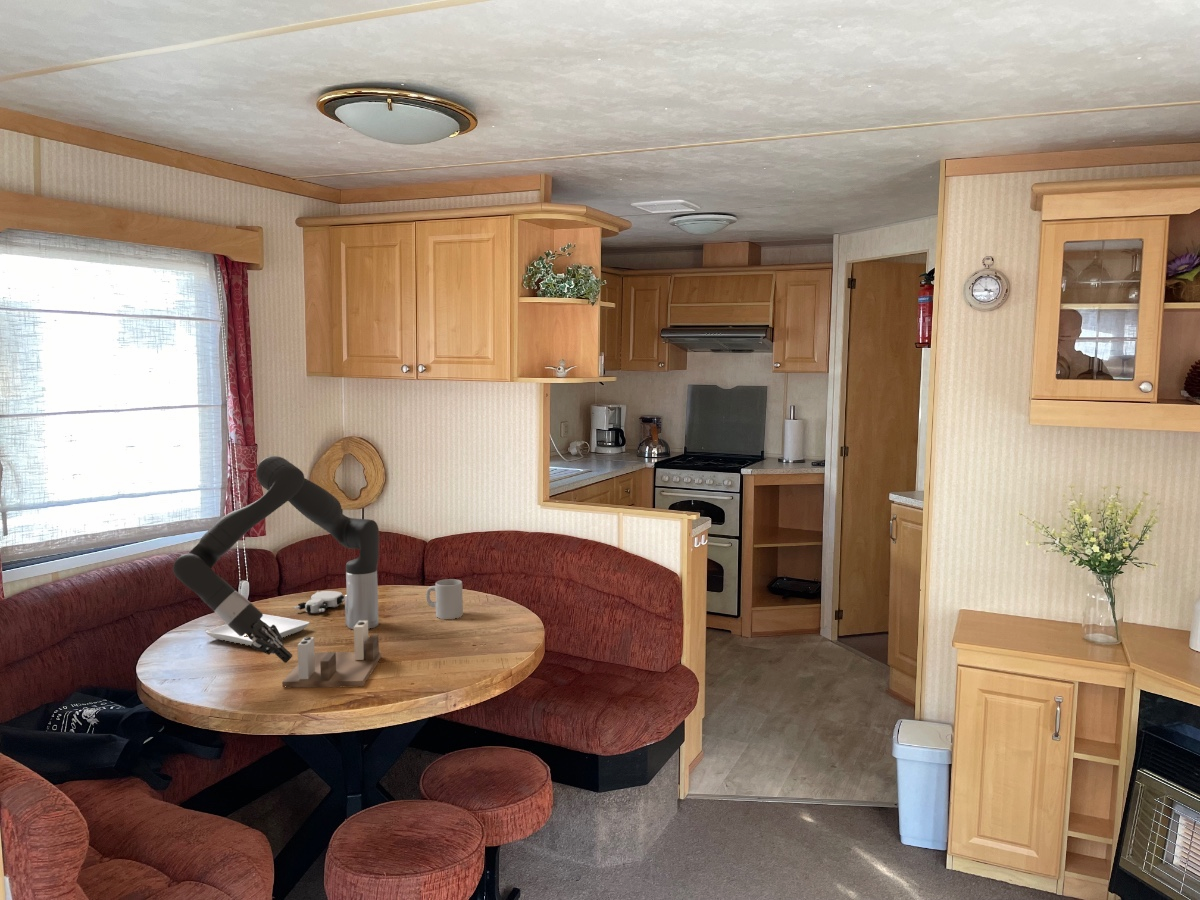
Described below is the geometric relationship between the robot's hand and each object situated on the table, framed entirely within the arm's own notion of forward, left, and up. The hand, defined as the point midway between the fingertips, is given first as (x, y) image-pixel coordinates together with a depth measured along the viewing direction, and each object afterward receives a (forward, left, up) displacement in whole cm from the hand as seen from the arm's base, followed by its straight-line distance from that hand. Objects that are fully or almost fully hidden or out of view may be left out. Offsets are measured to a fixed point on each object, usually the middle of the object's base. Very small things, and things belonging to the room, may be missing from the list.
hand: (289, 659), depth 228 cm
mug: (-8, +64, -6) cm, 65 cm away
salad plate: (-39, +18, -6) cm, 44 cm away
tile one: (+4, +20, -4) cm, 21 cm away
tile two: (+4, +2, -4) cm, 6 cm away
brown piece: (+3, +10, -6) cm, 12 cm away
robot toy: (-47, +47, -6) cm, 67 cm away
